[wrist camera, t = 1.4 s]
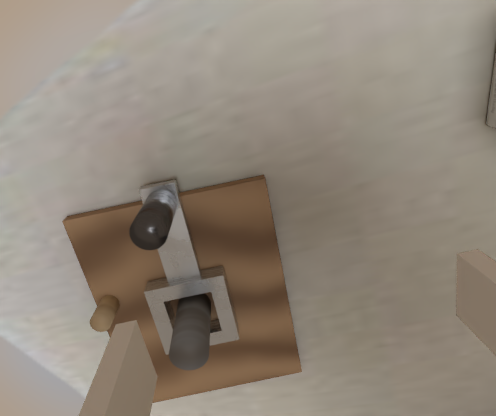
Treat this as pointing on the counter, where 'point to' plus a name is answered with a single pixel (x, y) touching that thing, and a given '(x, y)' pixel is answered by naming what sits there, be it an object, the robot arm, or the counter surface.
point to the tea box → (492, 101)
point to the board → (202, 305)
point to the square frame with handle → (178, 264)
